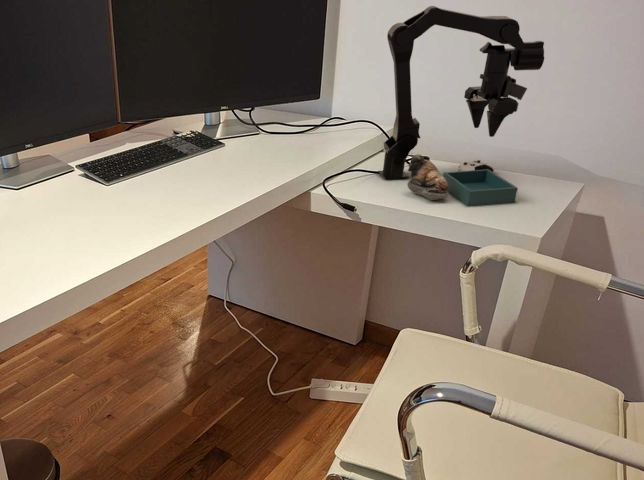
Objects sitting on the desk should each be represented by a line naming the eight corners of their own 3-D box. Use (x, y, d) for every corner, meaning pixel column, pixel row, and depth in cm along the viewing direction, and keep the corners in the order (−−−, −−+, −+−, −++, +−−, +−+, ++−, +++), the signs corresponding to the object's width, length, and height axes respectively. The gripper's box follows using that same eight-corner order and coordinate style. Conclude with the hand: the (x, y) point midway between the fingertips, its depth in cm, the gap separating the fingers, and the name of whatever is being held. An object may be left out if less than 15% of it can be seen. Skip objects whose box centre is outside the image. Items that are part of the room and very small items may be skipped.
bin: (441, 186, 181) (443, 172, 179) (485, 182, 182) (488, 169, 179) (467, 206, 168) (470, 191, 166) (514, 202, 169) (518, 187, 167)
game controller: (473, 177, 182) (463, 158, 183) (459, 187, 187) (450, 169, 188) (497, 170, 186) (487, 152, 187) (483, 180, 191) (473, 162, 192)
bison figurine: (452, 199, 172) (459, 161, 167) (434, 205, 169) (441, 166, 164) (415, 187, 181) (420, 150, 175) (397, 193, 178) (402, 156, 172)
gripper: (545, 76, 165) (530, 139, 173) (509, 62, 180) (496, 121, 189) (501, 78, 164) (488, 142, 173) (468, 65, 180) (458, 124, 188)
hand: (483, 132), depth 181 cm, fingers open, 9 cm apart
